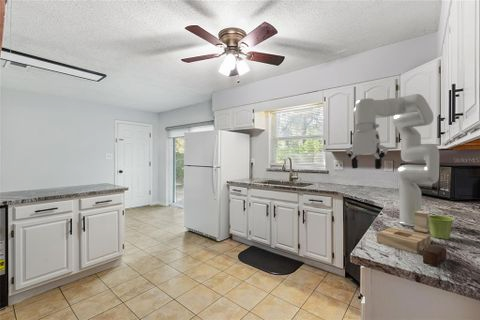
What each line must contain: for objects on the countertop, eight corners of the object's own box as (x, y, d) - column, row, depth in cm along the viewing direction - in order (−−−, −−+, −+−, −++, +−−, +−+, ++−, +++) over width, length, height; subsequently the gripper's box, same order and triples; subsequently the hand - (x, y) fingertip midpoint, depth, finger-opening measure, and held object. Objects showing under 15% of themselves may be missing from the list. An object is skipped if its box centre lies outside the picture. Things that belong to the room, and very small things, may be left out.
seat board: (392, 235, 103) (391, 227, 103) (430, 245, 91) (430, 235, 91) (376, 242, 95) (376, 232, 95) (416, 253, 84) (416, 242, 84)
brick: (437, 268, 73) (437, 253, 73) (422, 263, 76) (422, 249, 76) (446, 259, 79) (446, 245, 79) (432, 255, 82) (432, 242, 82)
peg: (418, 237, 100) (418, 210, 100) (429, 240, 96) (429, 212, 96) (414, 239, 97) (414, 212, 97) (426, 242, 94) (426, 214, 94)
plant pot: (420, 234, 104) (420, 215, 104) (437, 232, 106) (437, 214, 106) (443, 241, 95) (442, 221, 95) (460, 239, 97) (460, 219, 97)
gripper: (392, 126, 91) (392, 168, 91) (350, 131, 106) (351, 167, 106) (383, 125, 87) (383, 169, 87) (341, 130, 102) (342, 168, 102)
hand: (366, 168), depth 97 cm, fingers open, 9 cm apart
